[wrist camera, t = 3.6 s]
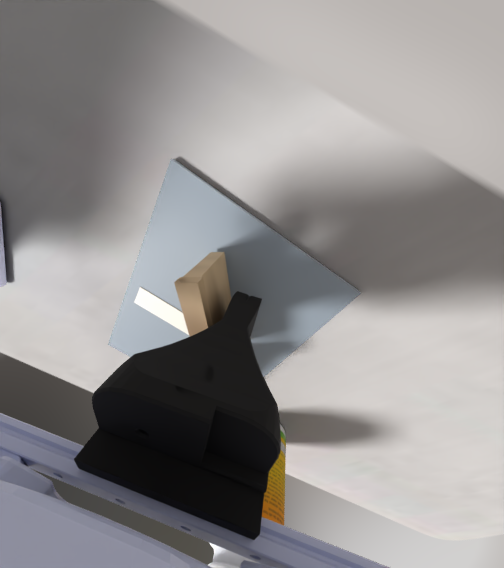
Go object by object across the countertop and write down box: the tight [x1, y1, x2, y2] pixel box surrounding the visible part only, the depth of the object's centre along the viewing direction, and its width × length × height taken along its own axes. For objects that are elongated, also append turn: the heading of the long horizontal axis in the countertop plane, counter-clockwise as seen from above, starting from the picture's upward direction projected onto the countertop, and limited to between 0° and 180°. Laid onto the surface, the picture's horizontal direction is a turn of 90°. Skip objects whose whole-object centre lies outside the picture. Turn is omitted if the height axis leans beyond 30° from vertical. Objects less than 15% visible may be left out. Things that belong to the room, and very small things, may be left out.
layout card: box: [108, 159, 361, 377], centre depth 14 cm, size 12×16×1 cm
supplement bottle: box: [208, 424, 286, 568], centre depth 15 cm, size 5×5×10 cm
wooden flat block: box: [174, 252, 231, 336], centre depth 11 cm, size 7×1×4 cm, turn 4°
